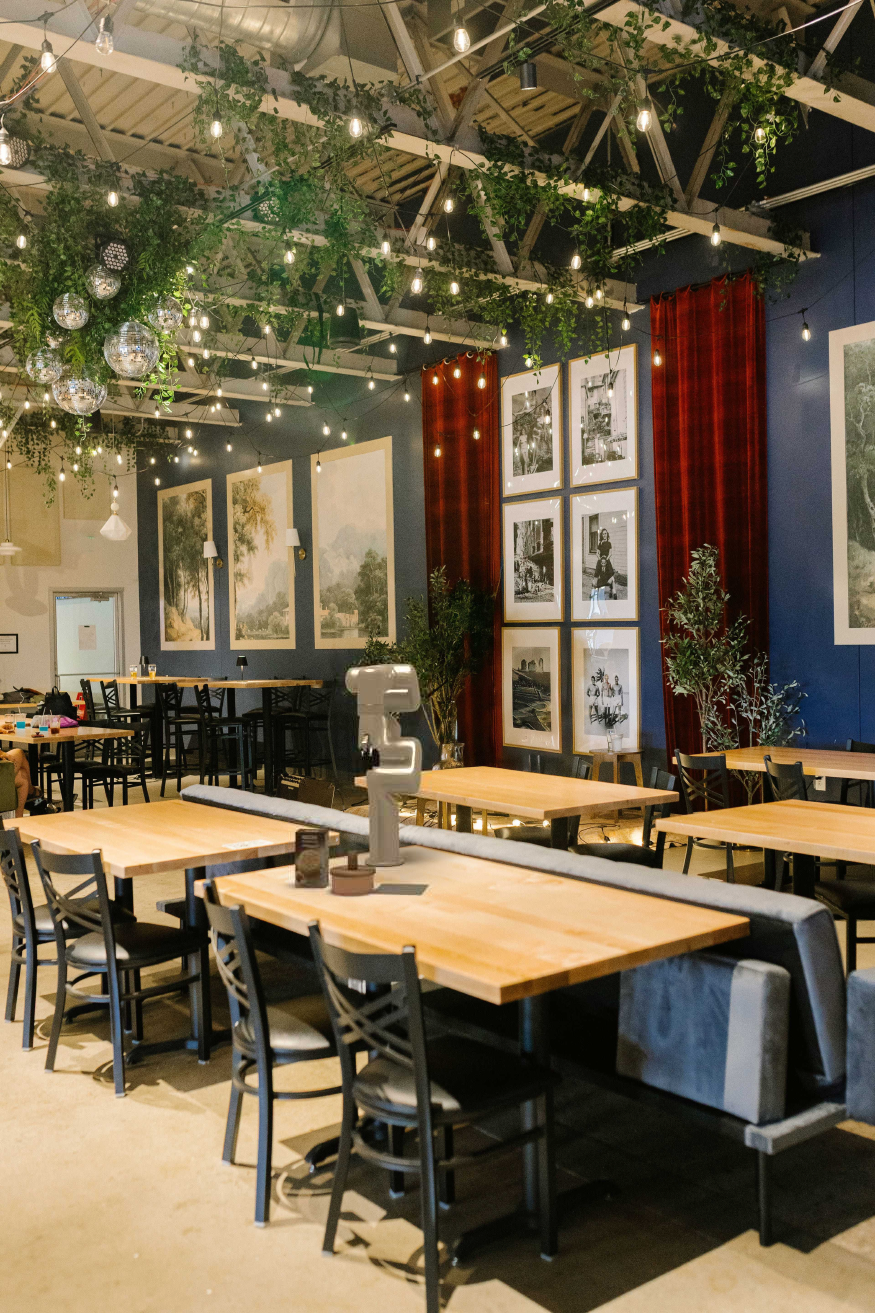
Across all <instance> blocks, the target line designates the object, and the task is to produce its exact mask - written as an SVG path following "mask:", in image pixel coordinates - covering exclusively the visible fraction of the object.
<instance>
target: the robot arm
mask: <svg viewBox="0 0 875 1313" xmlns="http://www.w3.org/2000/svg"><path fill="white" fill-rule="evenodd" d="M344 680H345V686H346V690H348V692H349V693H351V694H356V693H357V716H359V723H358V743H357V744H358V745H357V746H358V749H359V750H361V770H362V771H366V774H365V781H366V789H367V795H368V796H367V797H368V807H369V808H368V815H369V816H368V817H369V821H368V822H369V825H368V826H369V832H368V833H369V835H368V836H369V840H368V841H369V857H367V858H365V859H364V865H367V866H372V867H392V866H393V867H394V866H400V865H403V864H404V863H405V859H404V858H403V857H401V856H400V811H399V806H398V804H397V802H396V801H395V799H394V798H393V797H392V796H393V795H415V794H417V793H418V792H419V790H420V788H421V780H422V762H423V750H422V749H423V748H422V744H421V741H420V740H419V739H418V738H416V737H413V736H401V735H402V734H401V733H402V728H401V724H400V723H399V722H398V721H397V720H396V719H395V717H393V716H392V714H390V713H409V712H410V713H411V712H412V713H413V712H416V711H417V710H418V709H419V708H420V706H421V691H420V685H419V679H418V675H417V671H416V669H415V667H414V666H413V665H412V664H409V663H389V664H388V663H383V664H382V663H381V664H377V665H369V666H368V665H367V666H360V667H351V668H349V669H348V670H347V672H346V674H345V679H344Z"/></svg>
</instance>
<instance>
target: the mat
mask: <svg viewBox="0 0 875 1313" xmlns="http://www.w3.org/2000/svg"><path fill="white" fill-rule="evenodd" d="M429 886H430V884H425V883H424V884H423V883H422V884H419V883H417V884H416V883H415V884H414V883H411V884H410V883H381V884H380V885H379V886H378V887H377V888H376V889H375V890H373V891H372V892H371V895H385V896H386V895H389V896H390V895H391V896H392V895H393V896H395V895H396V896H422V895H423V894H424V892H425V891H426V890H427V889H428V887H429Z"/></svg>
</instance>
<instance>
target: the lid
mask: <svg viewBox="0 0 875 1313" xmlns="http://www.w3.org/2000/svg"><path fill="white" fill-rule="evenodd" d="M358 852H359V851H358V850H348V851H347V864H346V865H339V866H334V867H331V868H329V876H330V875H331V877H332V876H336V877H365V876H370V875H373V874H374V875H375V874H377V868H376V866H371V865H367V864H358V863H359V861H358V860H359V858H358V856H359V854H358Z"/></svg>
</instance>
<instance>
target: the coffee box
mask: <svg viewBox="0 0 875 1313" xmlns="http://www.w3.org/2000/svg"><path fill="white" fill-rule="evenodd" d="M294 836H295V837H294V847H295V848H294V850H295V851H294V854H295V855H294V856H295V858H294V862H295V863H294V879H295V880H294V887H295V888H314V889H315V888H316V889H319V888H321V889H322V888H323V889H326V887H327V886H328V885H329V884H330V880H329V879H330V866H329V865H330V841H329V840H330V829H328V828H327V829H326V828H325V829H322V828H321V829H320V828H299V829H297V830H296V831H295V832H294Z"/></svg>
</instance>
